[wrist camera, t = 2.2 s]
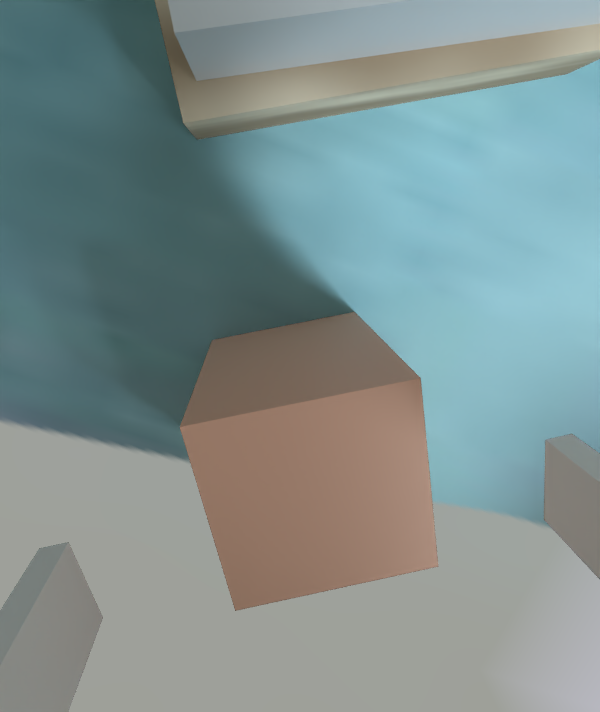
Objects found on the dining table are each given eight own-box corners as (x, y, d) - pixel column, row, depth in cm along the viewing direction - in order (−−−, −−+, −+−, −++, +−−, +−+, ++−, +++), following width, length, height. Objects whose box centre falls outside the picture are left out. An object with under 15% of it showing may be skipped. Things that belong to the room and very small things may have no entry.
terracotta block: (372, 437, 23) (438, 566, 15) (244, 463, 23) (235, 610, 14) (354, 311, 21) (420, 377, 12) (212, 339, 21) (179, 427, 12)
